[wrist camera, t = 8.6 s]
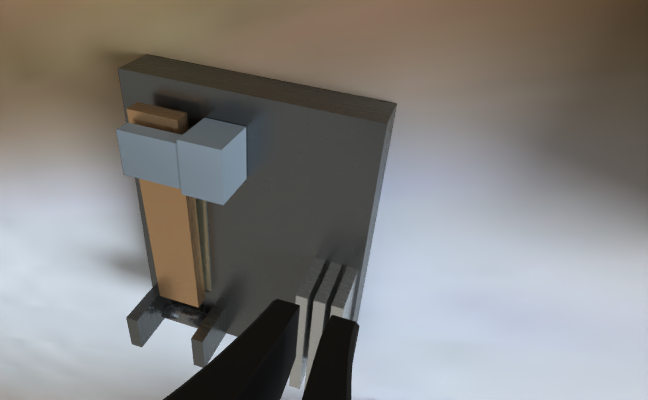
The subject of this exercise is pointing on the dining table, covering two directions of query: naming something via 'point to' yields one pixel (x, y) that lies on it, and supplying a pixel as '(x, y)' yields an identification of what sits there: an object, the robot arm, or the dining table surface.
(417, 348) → the dining table surface
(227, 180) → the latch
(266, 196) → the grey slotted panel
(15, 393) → the dining table surface
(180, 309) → the strap
